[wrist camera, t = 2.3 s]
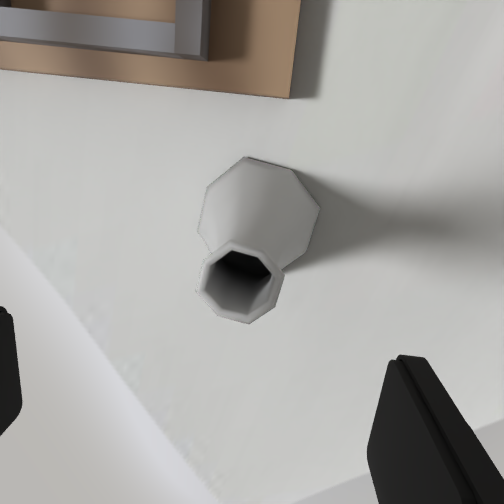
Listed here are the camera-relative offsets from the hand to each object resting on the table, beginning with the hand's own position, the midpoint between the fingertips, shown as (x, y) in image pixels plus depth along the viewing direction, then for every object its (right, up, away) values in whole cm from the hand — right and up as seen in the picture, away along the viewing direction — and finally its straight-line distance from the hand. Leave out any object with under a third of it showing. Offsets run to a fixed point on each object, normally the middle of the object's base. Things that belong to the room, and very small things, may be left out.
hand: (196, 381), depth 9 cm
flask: (+2, +5, +14) cm, 15 cm away
